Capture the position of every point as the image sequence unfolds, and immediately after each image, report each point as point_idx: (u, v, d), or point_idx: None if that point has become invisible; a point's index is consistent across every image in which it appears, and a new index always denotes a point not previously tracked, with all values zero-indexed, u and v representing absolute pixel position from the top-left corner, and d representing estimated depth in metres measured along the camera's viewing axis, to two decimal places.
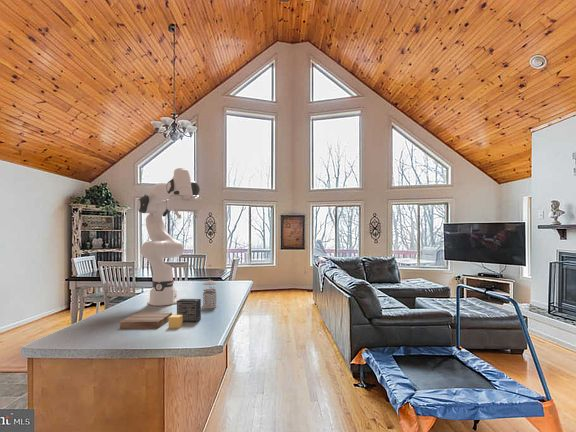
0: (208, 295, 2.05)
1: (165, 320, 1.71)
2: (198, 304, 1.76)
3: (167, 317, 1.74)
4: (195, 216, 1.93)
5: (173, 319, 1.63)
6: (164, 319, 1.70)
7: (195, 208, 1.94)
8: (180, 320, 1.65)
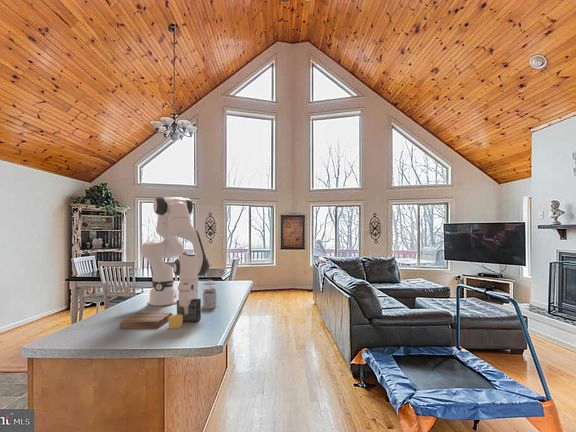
0: (208, 295, 2.05)
1: (165, 320, 1.71)
2: (198, 304, 1.76)
3: (167, 317, 1.74)
4: None
5: (173, 319, 1.63)
6: (164, 319, 1.70)
7: None
8: (180, 320, 1.65)
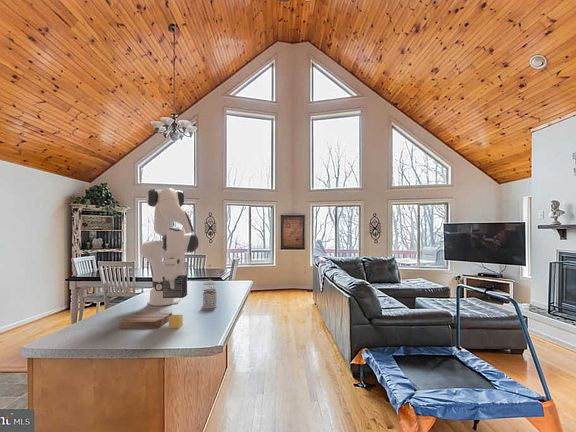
0: (208, 295, 2.05)
1: (165, 320, 1.71)
2: (185, 280, 1.75)
3: (167, 317, 1.74)
4: None
5: (173, 319, 1.63)
6: (164, 319, 1.70)
7: None
8: (180, 320, 1.65)
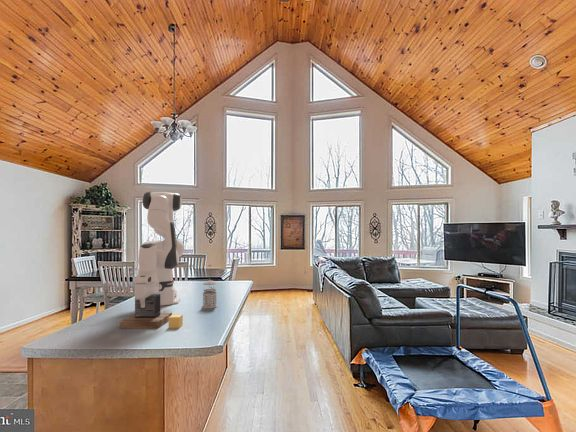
0: (208, 295, 2.05)
1: (165, 320, 1.71)
2: (157, 299, 1.72)
3: (167, 317, 1.74)
4: None
5: (173, 319, 1.63)
6: (164, 319, 1.70)
7: (154, 292, 1.77)
8: (180, 320, 1.65)
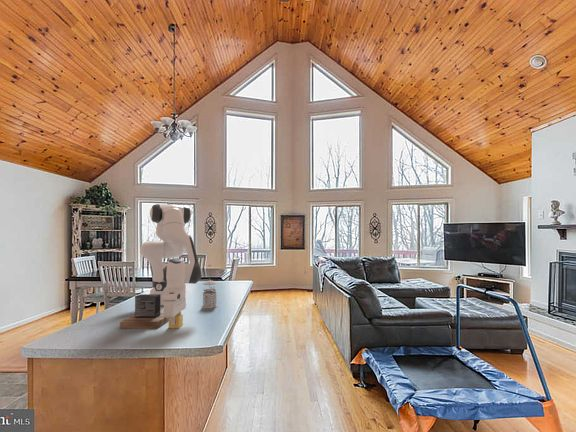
0: (208, 295, 2.05)
1: (165, 320, 1.71)
2: (157, 299, 1.72)
3: None
4: None
5: None
6: (164, 319, 1.70)
7: (182, 309, 1.70)
8: (180, 320, 1.65)
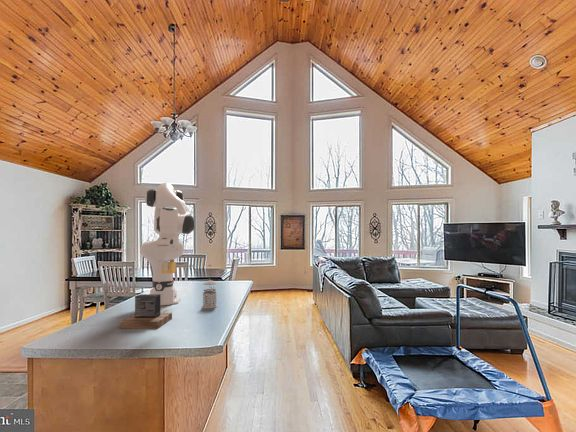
0: (208, 295, 2.05)
1: (165, 320, 1.71)
2: (157, 299, 1.72)
3: (167, 317, 1.74)
4: None
5: None
6: (164, 319, 1.70)
7: (175, 257, 1.73)
8: (173, 266, 1.68)
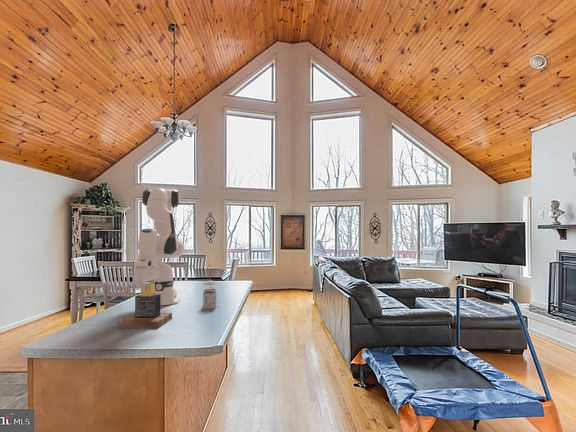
0: (208, 295, 2.05)
1: (165, 320, 1.71)
2: (157, 299, 1.72)
3: (167, 317, 1.74)
4: None
5: (145, 287, 1.70)
6: (164, 319, 1.70)
7: (155, 277, 1.77)
8: (152, 289, 1.72)
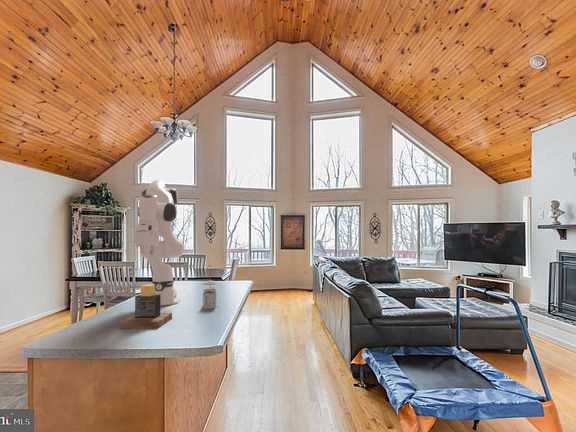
0: (208, 295, 2.05)
1: (165, 320, 1.71)
2: (157, 299, 1.72)
3: (167, 317, 1.74)
4: (153, 252, 1.77)
5: (145, 287, 1.70)
6: (164, 319, 1.70)
7: (155, 243, 1.78)
8: (152, 289, 1.72)
